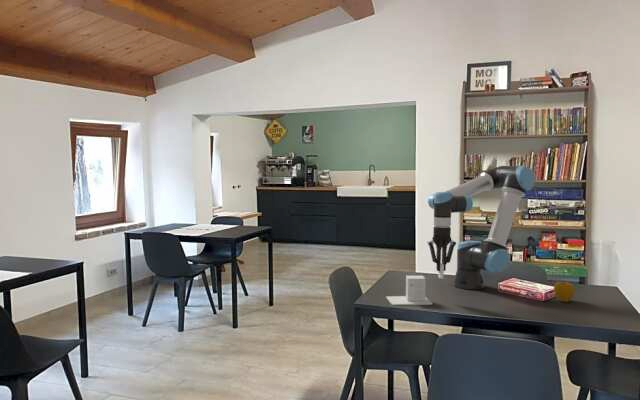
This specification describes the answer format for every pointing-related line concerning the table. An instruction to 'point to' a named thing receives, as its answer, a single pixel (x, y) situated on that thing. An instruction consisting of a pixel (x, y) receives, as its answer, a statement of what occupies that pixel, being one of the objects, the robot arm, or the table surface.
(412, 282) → the small box
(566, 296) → the apple
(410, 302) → the felt mat
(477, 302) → the table surface
